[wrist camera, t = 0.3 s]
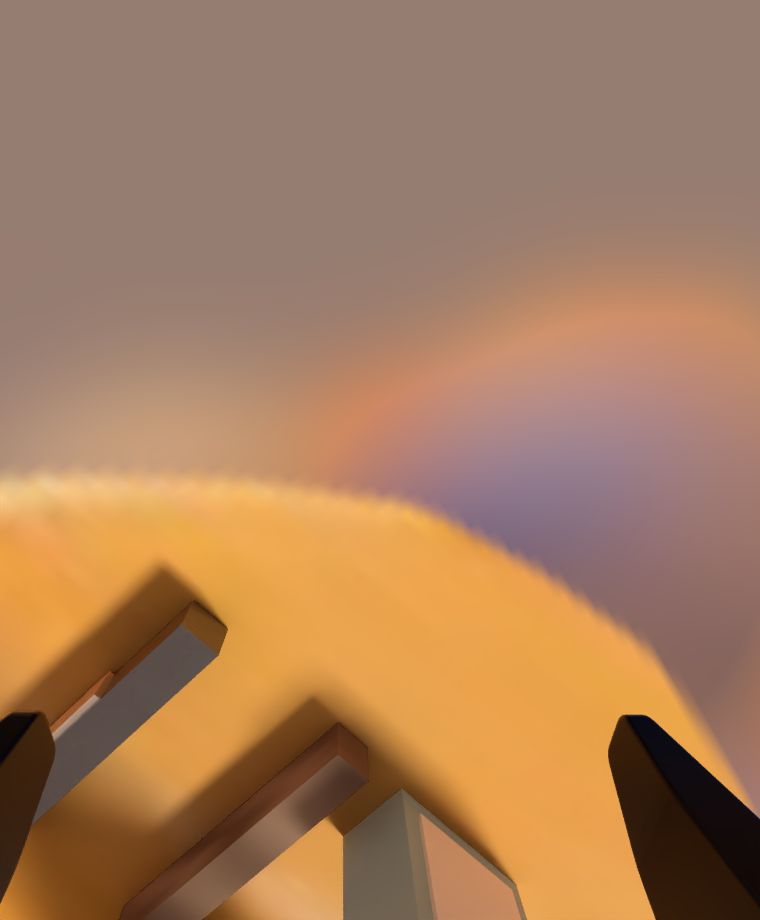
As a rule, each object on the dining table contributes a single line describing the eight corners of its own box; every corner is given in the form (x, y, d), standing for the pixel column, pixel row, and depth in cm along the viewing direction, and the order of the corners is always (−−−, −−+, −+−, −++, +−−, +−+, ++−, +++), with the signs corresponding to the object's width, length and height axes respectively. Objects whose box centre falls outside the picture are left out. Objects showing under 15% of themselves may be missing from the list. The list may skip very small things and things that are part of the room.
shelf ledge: (154, 926, 29) (140, 970, 27) (123, 906, 28) (107, 949, 26) (367, 747, 27) (369, 780, 25) (337, 722, 27) (337, 754, 25)
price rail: (8, 830, 27) (-18, 869, 25) (-33, 803, 26) (-63, 841, 24) (228, 629, 25) (218, 655, 23) (188, 595, 24) (175, 619, 23)
